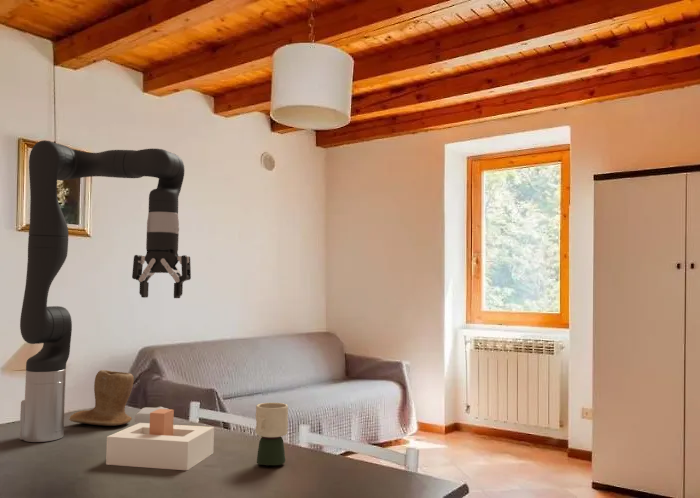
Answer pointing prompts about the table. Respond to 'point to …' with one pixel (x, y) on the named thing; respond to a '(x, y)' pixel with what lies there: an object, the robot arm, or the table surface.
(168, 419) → the orange block
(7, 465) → the table surface
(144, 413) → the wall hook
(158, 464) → the well block
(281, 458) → the character mug
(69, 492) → the table surface
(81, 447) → the table surface
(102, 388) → the brown boot-shaped piece
